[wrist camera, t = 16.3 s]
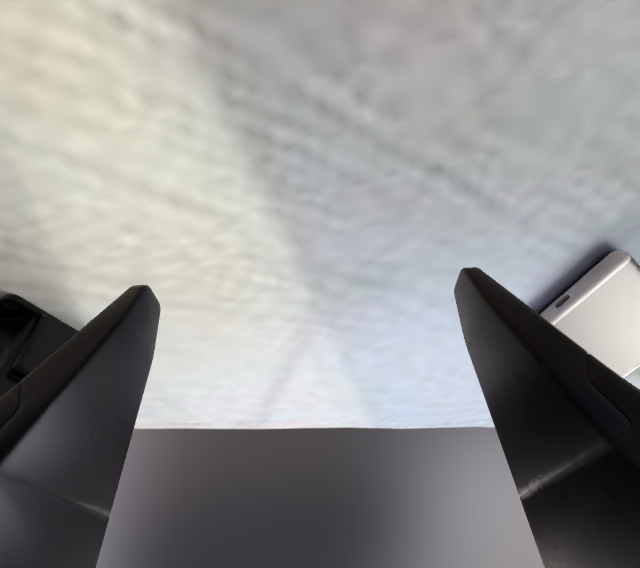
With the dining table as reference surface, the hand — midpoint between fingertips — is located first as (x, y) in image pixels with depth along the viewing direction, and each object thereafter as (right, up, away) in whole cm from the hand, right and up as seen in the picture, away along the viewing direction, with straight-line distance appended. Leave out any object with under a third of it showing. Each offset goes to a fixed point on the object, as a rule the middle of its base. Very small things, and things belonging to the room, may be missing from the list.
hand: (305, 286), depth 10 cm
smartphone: (+34, -5, +31) cm, 47 cm away
